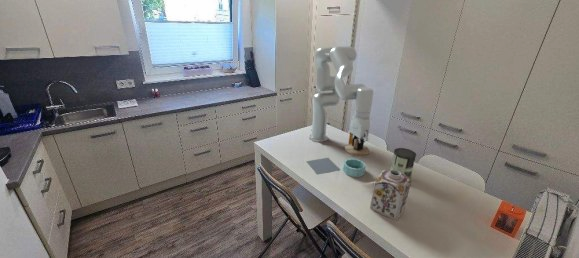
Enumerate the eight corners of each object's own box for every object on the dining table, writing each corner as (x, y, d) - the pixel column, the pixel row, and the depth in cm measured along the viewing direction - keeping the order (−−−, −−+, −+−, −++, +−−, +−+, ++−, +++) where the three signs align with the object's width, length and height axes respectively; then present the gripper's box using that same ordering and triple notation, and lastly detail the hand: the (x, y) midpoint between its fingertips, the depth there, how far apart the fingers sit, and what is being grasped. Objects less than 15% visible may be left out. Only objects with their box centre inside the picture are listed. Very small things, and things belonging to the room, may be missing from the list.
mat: (306, 162, 141) (306, 161, 141) (328, 158, 146) (328, 157, 146) (317, 175, 129) (317, 174, 129) (340, 170, 134) (340, 169, 134)
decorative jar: (379, 195, 115) (386, 161, 108) (405, 207, 109) (414, 171, 102) (368, 209, 107) (375, 173, 100) (396, 222, 100) (405, 184, 93)
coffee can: (407, 172, 134) (413, 148, 129) (412, 183, 125) (418, 158, 120) (387, 169, 136) (392, 146, 131) (390, 180, 127) (396, 156, 121)
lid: (340, 147, 131) (341, 136, 129) (359, 144, 135) (361, 133, 133) (353, 157, 121) (354, 146, 119) (373, 154, 125) (375, 143, 123)
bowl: (339, 168, 136) (339, 160, 134) (356, 165, 140) (357, 157, 138) (350, 179, 127) (351, 171, 125) (368, 175, 130) (369, 167, 128)
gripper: (345, 109, 126) (342, 141, 133) (365, 120, 112) (360, 156, 119) (358, 107, 129) (354, 140, 136) (379, 118, 114) (373, 153, 121)
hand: (357, 147), depth 127 cm, fingers closed on lid, 3 cm apart
